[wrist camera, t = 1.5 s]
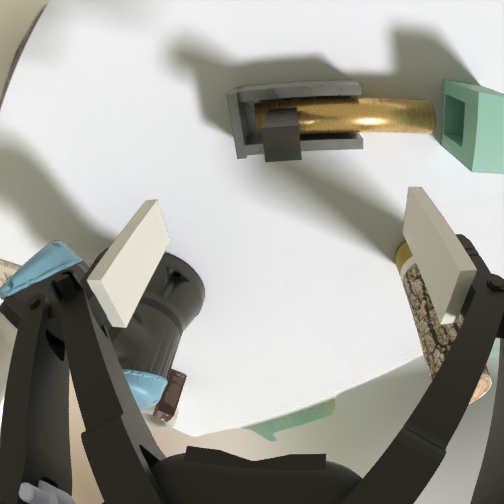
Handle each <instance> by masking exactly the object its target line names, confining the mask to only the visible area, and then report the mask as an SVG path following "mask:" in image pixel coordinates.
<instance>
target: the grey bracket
mask: <svg viewBox="0 0 504 504" xmlns="http://www.w3.org/2000/svg"><path fill="white" fill-rule="evenodd" d="M356 95H362V90H361V84H359V83H358V82H356V81H354V80H328V81H303V82H288V83H275V84H265V85H255V86H247V87H239V88H235V89H233V90H232V91H231V92H229V93H228V94H227V99H228V105H229V111H230V117H231V123H232V129H233V135H234V141H235V147H236V153H237V159H242V158H247V155H254V154H264V146H263V138H262V137H259V136H258V133H257V129H256V122H255V103H259V102H270V101H282V100H296V99H314V98H356ZM300 145H301V151H314V150H341V149H363V138H362V137H361V135H360V134H359V133H358V132H344V133H314V134H300Z"/></svg>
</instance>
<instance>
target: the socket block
mask: <svg viewBox="0 0 504 504" xmlns="http://www.w3.org/2000/svg"><path fill="white" fill-rule="evenodd" d="M441 146H442V147H443V148H445V149H446V150H447V151H448V152H449V153H451V154H452V155H453V156H454V157H455V158H456V159H458V160H459V161H460V162H461V163H462V164H463V165H464V166H466V167H467V168H468V169H469V170H470V171H471V172H478V173H494V174H504V94H502V93H500V92H497V91H494V90H492V89H489V88H486V87H483V86H480V85H475V84H469V83H463V82H456V81H449V80H443V121H442V138H441Z"/></svg>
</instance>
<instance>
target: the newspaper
mask: <svg viewBox="0 0 504 504" xmlns="http://www.w3.org/2000/svg"><path fill="white" fill-rule="evenodd" d="M21 267H22V266H20V265H17V264H14V263H10V262H7V261H4V260H1V259H0V287H1V286H2V285H3V284H4V283H5V282H6V281H7V280H8V279H9V278H10V277H12V275H13V274H14V273H15V272H16V271H17V270H18V269H20V268H21Z"/></svg>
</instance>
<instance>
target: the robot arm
mask: <svg viewBox="0 0 504 504" xmlns="http://www.w3.org/2000/svg"><path fill="white" fill-rule="evenodd" d="M402 233H403V235H404V237H405V239H406V241H407V244H408V246H409V248H410V250H411V252H412V255H413V257H414V259H415V261H416V264H417V266H418V268H419V271H420V273H421V275H422V278H423V280H424V283H425V285H426V288H427V290H428V293H429V295H430V298H431V300H432V303H433V306H434V308H435V311H436V314H437V317H438V319H439V322H440V325H441V324H450V323H456V322H457V320H458V317H459V315H460V313H461V314H462V316H463V319H464V321H463V323H462V325H461V327H460V329H459V331H458V334H457V336H456V338H455V340H454V342H453V344H452V346H451V348H450V350H449V352H448V353H447V355H446V357H445V359H444V361H443V363H442V365H441V366H440V368H439V370H438V372H437V374H436V375H435V377H434V379H433V381H432V382H431V384H430V386H429V387H428V389H427V391H426V392H425V394H424V396H423V397H422V399H421V400H420V402H419V404H418V405H417V407H416V408H415V410H414V411H413V413H412V414H411V416H410V417H409V419H408V420H407V422H406V423H405V425H404V426H403V428H402V429H401V431H400V432H399V433H398V435H397V436H396V438H395V439H394V440H393V441H392V443H391V444H390V445H389V447H388V448H387V449H386V451H385V452H384V453H383V455H382V456H381V457H380V458H379V460H378V461H377V462H376V463H375V465H374V466H373V467H372V468H371V470H370V471H369V472H368V473H367V474H366V476H365V477H364V478H363V479H362V478H361V477H360V476H359V475H357V474H356V473H355V472H353V471H352V470H350V469H349V468H347V467H344V466H342V465H340V464H337V463H334V462H330V461H326V454H290V455H285V456H280V457H275V458H270V459H265V460H259V461H250V460H247V459H244V458H241V457H238V456H235V455H232V454H229V453H226V452H223V451H221V450H215V449H207V448H199V447H191V446H187V449H186V453H182V454H178V455H174V456H170V457H168V458H166V457H165V455H164V454H163V453H162V451H161V450H160V449H159V447H158V446H157V444H156V442H155V440H154V438H153V436H152V434H151V432H150V430H149V428H148V426H147V424H146V422H145V420H144V418H143V416H142V414H141V412H140V409H146V408H150V407H153V406H154V405H156V404H157V403H158V402H159V400H160V398H161V396H162V393H163V391H164V388H165V386H166V385H167V380H168V376H169V373H170V370H171V367H172V363H173V360H174V357H175V354H176V351H177V348H178V345H179V342H180V338H181V336H182V333H183V331H184V330H185V329H186V328H187V326H188V325H189V324H190V323H191V321H192V320H193V319H194V318H195V317H196V316H197V315H198V314H199V312H200V310H201V308H202V305H203V302H204V299H205V288H204V285H203V282H202V280H201V278H200V277H199V275H198V274H197V273H196V272H195V271H194V270H193V269H192V268H191V267H190V266H189V265H188V264H186V263H185V262H184V261H182V260H180V259H178V258H176V257H174V256H172V255H169V254H165V253H164V252H165V250H166V249H167V247H168V245H169V243H170V238H169V235H168V232H167V229H166V225H165V222H164V219H163V215H162V212H161V208H160V205H159V201H158V199H157V200H148V201H145V202H144V203H143V205H142V206H141V207H140V208H139V210H138V211H137V212H136V213H135V215H134V216H133V217H132V219H131V220H130V221H129V222H128V224H127V225H126V226H125V228H124V229H123V230H122V231H121V233H120V234H119V235H118V237H117V238H116V239H115V241H114V242H113V243H112V245H111V246H110V248H107V249H105V250H104V251H103V252H102V253H101V254H99V256H98V257H97V258H96V260H95V261H94V263H93V264H92V265H91V268H90V267H89V266H88V265H87V264H86V263H85V262H84V261H83V260H84V259H83V258H82V257H79V256H78V255H77V254H76V253H75V252H74V251H73V250H72V249H71V248H70V247H69V246H68V245H67V244H66V243H64V242H62V241H53V242H50V243H49V244H48V245H46V246H45V247H44V248H42V249H41V250H40V251H39V252H38V253H36V254H35V255H34V256H33V257H32V258H31V259H29V260H28V261H27V262H26V263H25V264H24V265H23V266H22V267H21V268H20V269H18V270H17V271H16V272H15V273H14V274H13V275H12V277H10V278H9V279H8V280H7V281H6V282H5V283H4V284H3V285H2V286H1V287H0V298H1V299H2V300H3V299H4V301H3V303H2V304H1V305H0V504H75V503H74V500H73V499H72V497H71V496H72V470H71V459H70V441H69V369H70V372H71V376H72V381H73V385H74V388H75V393H76V397H77V400H78V404H79V408H80V411H81V414H82V418H83V421H84V425H85V428H86V431H85V432H83V433H82V434H81V438H82V443H83V446H84V449H85V452H86V455H87V458H88V461H89V463H90V466H91V469H92V471H93V474H94V477H95V479H96V482H97V484H98V487H99V489H100V492H101V494H102V497H103V499H104V501H105V502H104V503H102V504H413V503H414V502H415V501H416V499H417V498H418V496H419V495H420V494H421V492H422V491H423V489H424V488H425V487H426V485H427V484H428V482H429V481H430V479H431V477H432V476H433V475H434V473H435V471H436V470H437V468H438V467H439V465H440V463H441V462H442V460H443V458H444V456H445V454H446V450H445V449H446V447H447V445H448V443H449V441H450V439H451V437H452V436H453V434H454V432H455V430H456V428H457V426H458V424H459V423H460V421H461V419H462V417H463V415H464V413H465V411H466V409H467V406H468V404H469V402H470V400H471V398H472V396H473V394H474V392H475V389H476V387H477V385H478V382H479V380H480V378H481V375H482V373H483V370H484V368H485V365H486V363H487V360H488V357H489V355H490V352H491V349H492V346H493V344H494V341H495V338H496V337H497V338H500V356H499V369H498V379H497V388H496V396H495V403H494V409H493V416H492V421H491V427H490V432H489V437H488V441H487V446H486V450H485V454H484V458H483V462H482V466H481V469H480V473H479V476H478V480H477V483H476V486H475V490H474V493H473V496H472V500H471V504H504V279H503V278H501V277H500V276H498V275H495V274H491V273H490V271H489V269H488V268H487V266H486V264H485V263H484V261H483V260H482V258H481V257H480V256H479V253H478V252H477V250H475V247H474V246H473V244H472V243H471V241H470V240H469V239H467V238H466V237H465V236H464V235H462V234H455V233H454V232H453V230H452V229H451V227H450V226H449V224H448V223H447V221H446V220H445V219H444V217H443V216H442V214H441V213H440V211H439V210H438V209H437V207H436V206H435V204H434V203H433V202H432V200H431V199H430V198H429V196H428V195H427V194H426V192H425V191H424V190H423V188H422V187H408V194H407V202H406V211H405V218H404V225H403V232H402Z"/></svg>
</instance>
